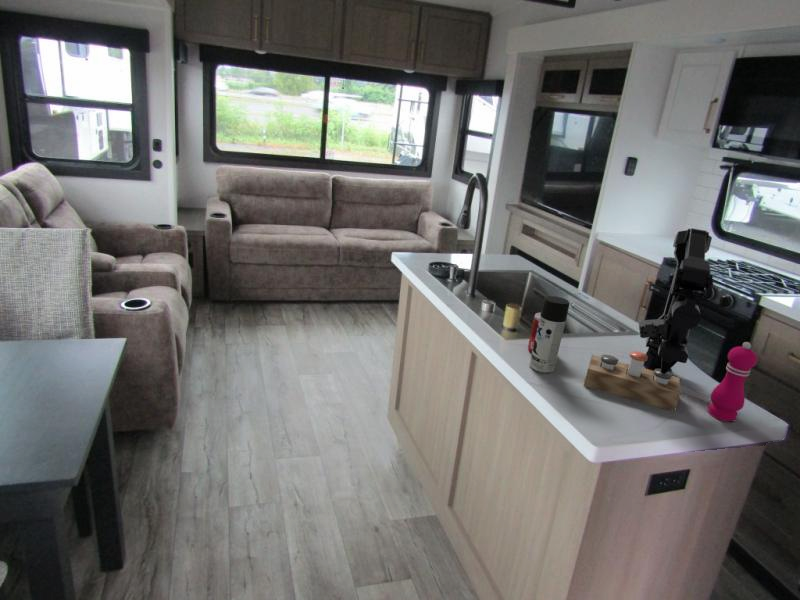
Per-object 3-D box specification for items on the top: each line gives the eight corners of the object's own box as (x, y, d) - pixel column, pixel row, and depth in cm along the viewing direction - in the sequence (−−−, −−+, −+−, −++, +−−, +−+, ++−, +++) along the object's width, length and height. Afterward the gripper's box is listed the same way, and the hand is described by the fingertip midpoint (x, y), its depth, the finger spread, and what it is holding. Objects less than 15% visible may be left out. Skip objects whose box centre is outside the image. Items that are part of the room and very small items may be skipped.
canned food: (555, 360, 157) (564, 324, 154) (527, 354, 159) (535, 319, 155) (554, 349, 165) (562, 315, 161) (527, 344, 166) (534, 310, 162)
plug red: (641, 377, 145) (648, 354, 143) (640, 383, 141) (647, 360, 139) (624, 372, 146) (630, 349, 144) (623, 379, 143) (630, 355, 140)
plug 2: (664, 394, 144) (672, 371, 141) (664, 402, 140) (672, 378, 138) (647, 390, 145) (654, 367, 143) (647, 397, 141) (654, 373, 139)
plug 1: (612, 380, 148) (618, 357, 146) (611, 386, 145) (617, 363, 142) (596, 375, 150) (602, 353, 147) (594, 382, 146) (600, 359, 144)
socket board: (673, 394, 145) (679, 377, 144) (674, 411, 137) (680, 394, 135) (587, 370, 153) (592, 354, 151) (583, 385, 144) (588, 368, 143)
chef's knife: (718, 411, 141) (723, 408, 142) (719, 407, 140) (725, 404, 142) (649, 377, 155) (655, 374, 156) (650, 373, 154) (656, 371, 156)
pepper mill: (724, 424, 133) (752, 350, 127) (699, 409, 140) (724, 336, 133) (744, 421, 136) (772, 347, 129) (718, 405, 142) (744, 334, 136)
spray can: (527, 361, 155) (541, 293, 148) (551, 363, 155) (566, 296, 148) (531, 372, 149) (546, 302, 142) (556, 375, 149) (573, 305, 142)
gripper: (646, 297, 146) (631, 350, 151) (644, 319, 130) (627, 378, 135) (692, 307, 142) (675, 362, 147) (696, 331, 126) (677, 391, 131)
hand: (663, 372), depth 140 cm, fingers closed, pressing on plug 2
